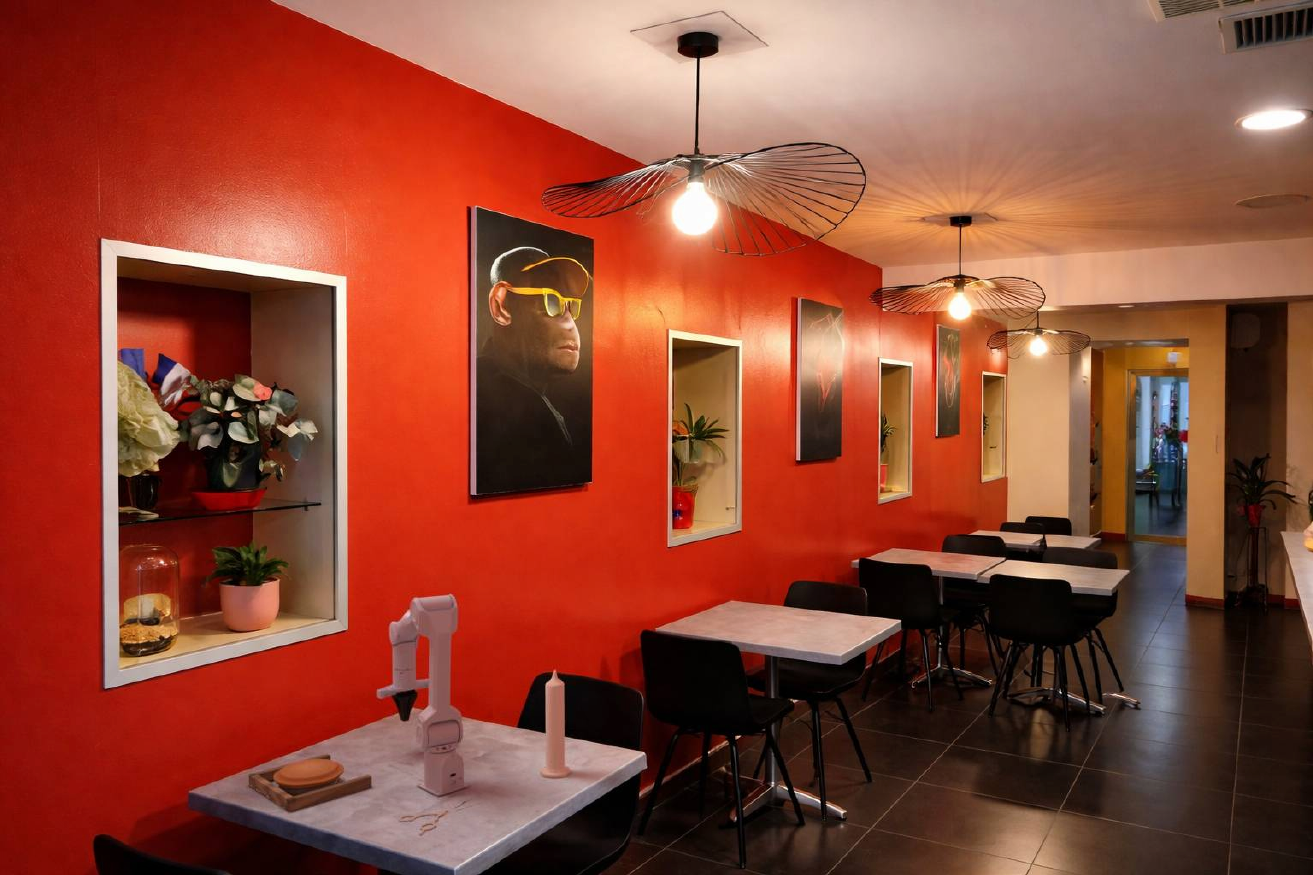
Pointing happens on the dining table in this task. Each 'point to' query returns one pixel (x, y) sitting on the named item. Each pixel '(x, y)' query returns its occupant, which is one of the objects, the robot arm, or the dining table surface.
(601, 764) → the dining table surface
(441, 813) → the scissors
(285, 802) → the serving rack
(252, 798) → the dining table surface
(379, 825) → the dining table surface
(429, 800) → the dining table surface
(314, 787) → the pie
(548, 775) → the candle
